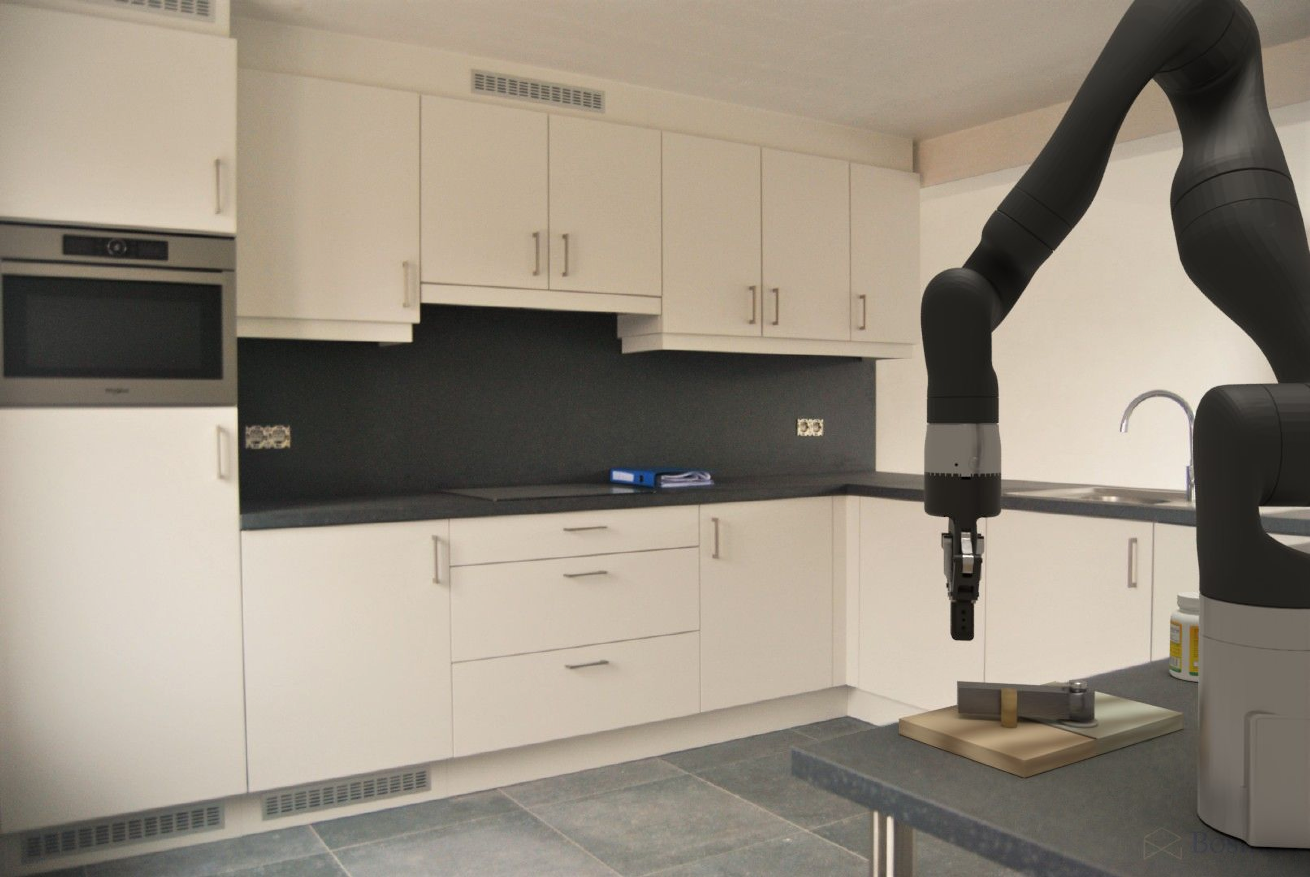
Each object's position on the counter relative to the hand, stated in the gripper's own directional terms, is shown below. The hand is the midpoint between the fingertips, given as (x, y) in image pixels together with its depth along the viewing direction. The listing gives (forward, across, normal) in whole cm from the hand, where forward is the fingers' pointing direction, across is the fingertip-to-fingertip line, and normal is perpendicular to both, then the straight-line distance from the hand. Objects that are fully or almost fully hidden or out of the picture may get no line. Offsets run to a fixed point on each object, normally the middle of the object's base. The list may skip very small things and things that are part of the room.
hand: (962, 639), depth 106 cm
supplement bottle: (+8, -21, +28) cm, 36 cm away
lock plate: (+8, +3, +7) cm, 11 cm away
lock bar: (+6, +5, +5) cm, 9 cm away
